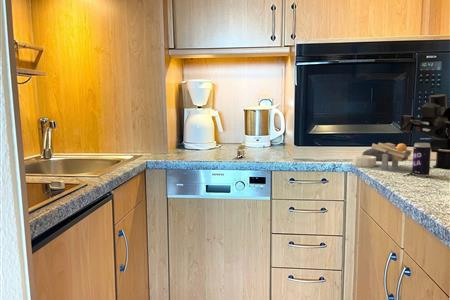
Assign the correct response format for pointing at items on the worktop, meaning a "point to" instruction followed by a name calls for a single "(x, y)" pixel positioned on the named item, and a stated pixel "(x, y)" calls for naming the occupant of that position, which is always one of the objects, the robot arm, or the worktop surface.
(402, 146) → the ball
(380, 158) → the perforated stone tool
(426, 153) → the beverage can
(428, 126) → the robot arm
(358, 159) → the beige round puck
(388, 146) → the wooden tray
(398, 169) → the launcher base
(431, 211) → the worktop surface
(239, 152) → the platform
